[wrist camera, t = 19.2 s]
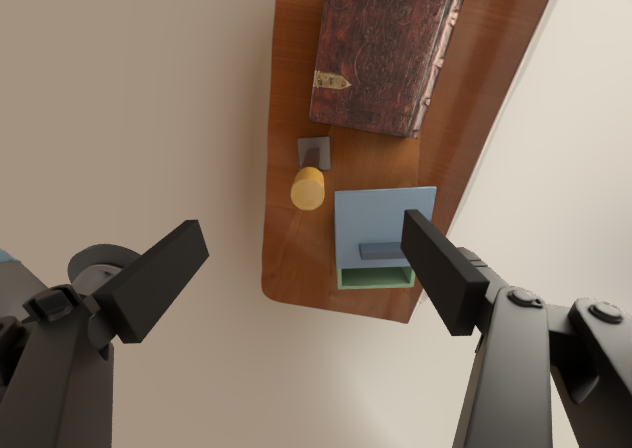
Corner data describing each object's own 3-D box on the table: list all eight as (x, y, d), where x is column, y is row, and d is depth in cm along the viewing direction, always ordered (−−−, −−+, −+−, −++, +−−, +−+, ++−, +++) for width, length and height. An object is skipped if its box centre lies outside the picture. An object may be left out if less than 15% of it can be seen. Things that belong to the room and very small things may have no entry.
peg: (302, 198, 27) (299, 215, 22) (291, 173, 26) (284, 186, 21) (328, 188, 26) (329, 203, 22) (317, 162, 25) (316, 172, 20)
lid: (336, 266, 45) (337, 279, 42) (334, 191, 38) (335, 198, 35) (421, 263, 44) (429, 276, 41) (434, 186, 37) (446, 193, 34)
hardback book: (409, 137, 42) (420, 139, 38) (309, 119, 41) (308, 120, 37) (483, -97, 30) (513, -135, 25) (342, -130, 29) (346, -176, 24)
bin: (335, 264, 55) (337, 289, 48) (333, 209, 49) (336, 227, 41) (400, 262, 55) (413, 287, 47) (407, 206, 48) (423, 223, 40)
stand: (300, 169, 45) (286, 206, 27) (297, 137, 43) (280, 155, 25) (330, 167, 45) (336, 204, 27) (329, 135, 42) (335, 152, 24)
